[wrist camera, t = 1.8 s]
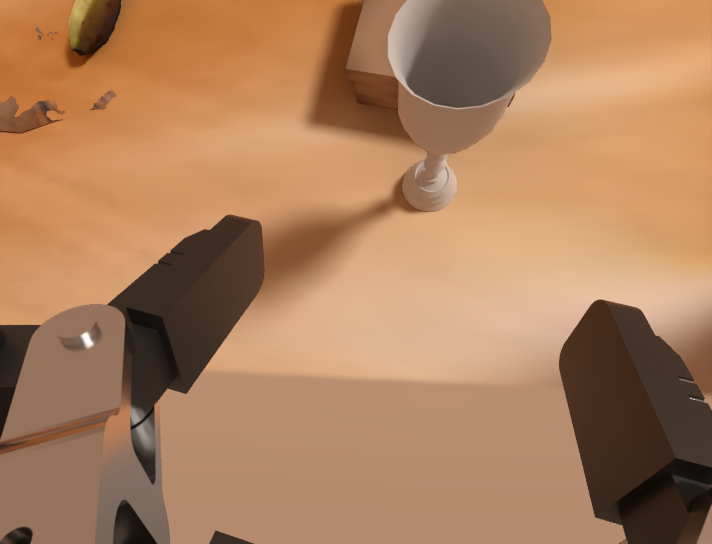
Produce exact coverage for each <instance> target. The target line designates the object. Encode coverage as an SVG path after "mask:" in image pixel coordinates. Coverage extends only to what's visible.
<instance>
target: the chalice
mask: <svg viewBox="0 0 712 544" xmlns="http://www.w3.org/2000/svg"><path fill="white" fill-rule="evenodd" d="M550 42H551V25H550V16H549V13H548V11H547V9H546V7H545V5H544V3H543V1H542V0H407V1H406V2H405V3H404V4H403V6H402V7H401V8H400V10H399V11H398V12H397V14H396V15H395V18H394V21H393V23H392V26H391V29H390V32H389V34H388V59H389V61H390V64H391V66H392V69H393V71H394V74H395V76H396V78H397V79H398V80H399V85H398V115H399V117H400V120H401V122H402V125H403V128H404V129H405V130H406V132H407V133H408V134H409V136H410V137H411V138H412V139H413V141H414V142H415V143H416V144H417V145H418V146H419V147H421V148H423V149H424V150H426V151H427V157H426V158H425V159H424V160H422V161H420V162H417V163H415V164H414V165H413V166H411V167H410V168H409V169H408V171H407V172H406V173H405V175H404V178H403V181H402V192H403V194H404V197H405V199H406V200H407V201H408V203H409V204H410V205H411V206H413V207H415V208H416V209H418V210H422V211H426V212H429V211H437V210H440V209H442V208H444V207H445V206H447V205H448V204H449V203H450V202H451V201H452V200H453V198H454V197H455V194H456V191H457V179H456V176H455V174H454V172H453V171H452V169H451V168H450V167H449V166H448V165H447V160H446V158H447V157H448V155H449V154H453V153H457V152H459V151H462V150H464V149H467V148H468V147H470V146H472V145H473V144H475V143H477V142H478V141H479V140H481V139H482V138H483V137H485V136H486V135H487V134H489V133H490V132H491V131H492V130H493V129H494V127H495V126H496V125H497V123H498V122H499V120H500V119H501V118H502V116H503V114H504V112H505V110H506V108H507V106H508V104H509V102H510V100H511V98H512V96H513V95H514V93H515V92H516V91H517V90H519V89H520V88H521V87H523V86H524V85H525V84H527V83H528V82H529V81H530V80H531V79H532V77H533V76H534V75H535V73H536V72H537V70H538V69H539V68H540V66H541V65H542V64H543V62H544V61H545V57H546V54H547V51H548V48H549V45H550Z"/></svg>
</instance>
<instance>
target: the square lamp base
mask: <svg viewBox="0 0 712 544" xmlns="http://www.w3.org/2000/svg"><path fill="white" fill-rule="evenodd" d="M406 1H407V0H364V2H363V6H362V10H361V13H360V17H359V21H358V24H357V28H356V32H355V36H354V39H353V43H352V47H351V50H350V54H349V58H348V61H347V65H346V74H347V79H348V81H354V84H355V90H356V97H357V103H363V104H369V105H375V106H380V107H386V108H392V109H398V85H399V80H398V79H397V78H396V76H395V74H394V71H393V69H392V66H391V64H390V61H389V59H388V34H389V32H390V29H391V26H392V23H393V21H394V18H395V15H396V14H397V12H398V11H399V10H400V8H401V7H402V6H403V4H404V3H405V2H406ZM514 95H515V93H514ZM514 95H513V96H512V98H511V100H510V102H509V104H508V106H507V107H509V105H510V103H511V101H512V100H513V98H514Z"/></svg>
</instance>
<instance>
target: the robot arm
mask: <svg viewBox="0 0 712 544" xmlns="http://www.w3.org/2000/svg"><path fill="white" fill-rule="evenodd" d="M263 278H264V255H263V239H262V227H261V224H260V222H259V221H256V220H251V219H247V218H243V217H238V216H234V215H227V216H225V217H224V218H223V219H222V220H221V221H220V222H218V223H217V224H216V225H215V226H214V227H213V228H212V229H211V230H206V229H204V230H202V231H200V232H198V233H195V234H193V235H191V236H188V237H186V238H184V239H183V240H182V241H181V242H180V243H179V244H177V245H176V246H175V247H174V248H173V249H172V250H171V252H170V253H167V254H166V255H165V256H163V257H162V258H161V259H160V260H159V261H158V264H154V265H153V266H152V267H151V268H149V269H148V270H147V271H146V272H145V273H144V274H142V275H141V276H140V277H139V278H138V279H137V280H135V281H134V282H133V283H132V284H131V285H130V286H128V287H127V288H126V289H125V290H124V291H123V292H121V293H120V294H119V295H118V296H117V297H115V298H114V299H113V300H112V301H111V302H110V303H108V304H107V305H102V304H90V305H83V306H79V307H75V308H71V309H68V310H66V311H63V312H61V313H59V314H57V315H55V316H53V317H52V318H50V319H49V320H47V321H46V322H45V323H43V324H42V325H0V544H170V535H169V525H168V518H167V513H166V508H165V505H164V499H163V492H162V472H161V438H160V408H159V403H158V400H159V399H160V397H161V396H162V395H163V393H164V392H165V391H166V390H167V388H168V389H171V390H175V391H178V392H181V393H185V394H187V392H188V391H189V389H190V388H191V387H192V385H193V384H194V382H195V381H196V379H197V378H198V377H199V375H200V374H201V372H202V371H203V370H204V368H205V367H206V365H207V364H208V363H209V361H210V360H211V358H212V357H213V355H214V354H215V353H216V351H217V350H218V348H219V347H220V346H221V344H222V343H223V341H224V340H225V339H226V337H227V336H228V334H229V333H230V332H231V330H232V329H233V327H234V326H235V324H236V323H237V322H238V320H239V319H240V317H241V316H242V315H243V313H244V312H245V310H246V309H247V308H248V306H249V305H250V303H251V302H252V300H253V299H254V298H255V296H256V295H257V293H258V292H259V290H260V288H261V285H262V282H263ZM559 369H560V374H561V378H562V382H563V386H564V390H565V394H566V399H567V403H568V407H569V411H570V415H571V419H572V424H573V428H574V432H575V436H576V440H577V444H578V448H579V452H580V457H581V460H582V465H583V469H584V473H585V477H586V481H587V486H588V490H589V494H590V498H591V502H592V506H593V510H594V515H595V517H596V518H599V519H603V520H606V521H609V522H613V523H616V524H619V525H623V529H624V532H625V536H626V539H625V540H623V541H622V542H621V543H619V544H712V410H711V408H710V407H709V405H708V404H707V403H704V399H705V398H704V396H703V395H702V393H701V391H700V389H699V388H698V386H697V384H693V380H694V379H693V378H692V376H691V374H690V372H689V371H688V369H687V367H686V366H685V364H684V362H683V360H682V359H681V357H680V356H679V355H678V354H677V353H676V352H675V351H674V350H673V349H672V348H671V347H670V346H669V345H668V344H667V343H666V342H665V341H664V340H663V339H662V338H661V337H660V336H655V334H654V332H653V330H652V329H651V327H650V325H649V323H648V321H647V319H646V318H645V316H644V314H643V312H642V311H641V310H640V309H638V308H636V307H632V306H627V305H623V304H618V303H614V302H610V301H605V300H597V301H595V302H594V303H593V304H592V305H591V306H590V307H589V309H588V310H587V311H586V313H585V314H584V316H583V317H582V319H581V320H580V322H579V323H578V325H577V326H576V327H575V329H574V330H573V332H572V333H571V335H570V336H569V338H568V339H567V341H566V342H565V344H564V345H563V348H562V350H561V353H560V359H559ZM210 544H253V543H250V542H247V541H244V540H241V539H238V538H236V537H233V536H230V535H227V534H224V533H221V532H218V531H215V533H214V535H213V537H212V539H211V541H210Z"/></svg>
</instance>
